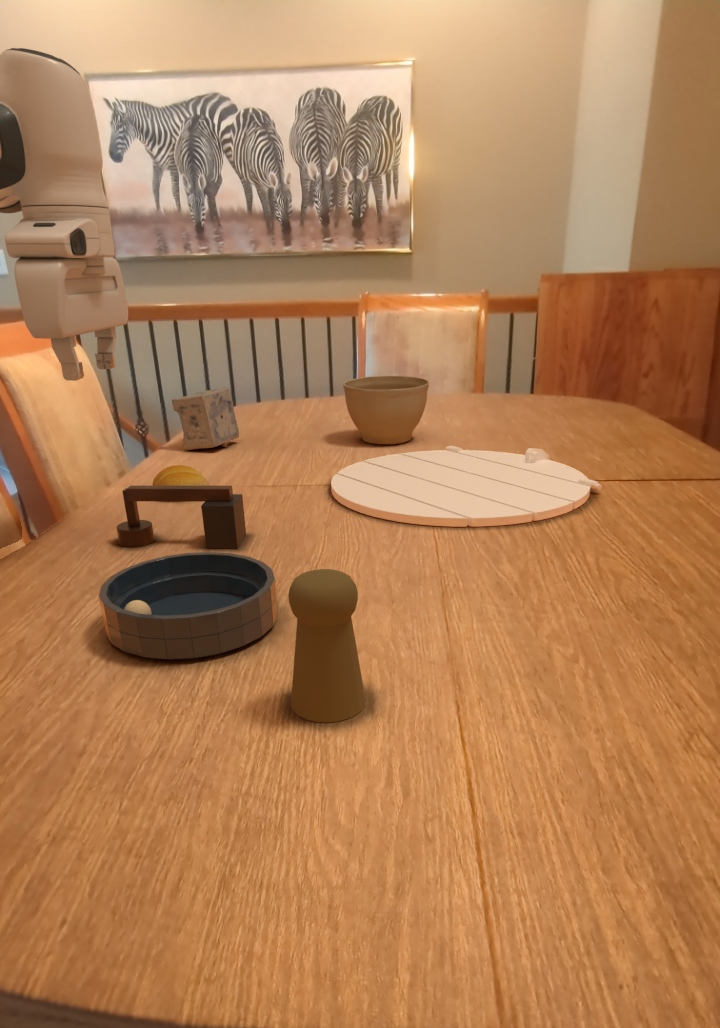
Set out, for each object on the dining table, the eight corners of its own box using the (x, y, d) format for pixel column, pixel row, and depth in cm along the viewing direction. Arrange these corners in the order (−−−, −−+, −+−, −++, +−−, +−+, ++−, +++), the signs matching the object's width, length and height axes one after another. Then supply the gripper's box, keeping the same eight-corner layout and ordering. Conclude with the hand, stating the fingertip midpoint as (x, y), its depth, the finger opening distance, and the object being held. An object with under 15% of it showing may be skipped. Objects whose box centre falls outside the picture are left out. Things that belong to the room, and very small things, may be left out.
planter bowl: (328, 440, 147) (325, 382, 143) (387, 428, 157) (387, 373, 152) (385, 453, 137) (384, 391, 132) (445, 439, 146) (446, 380, 141)
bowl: (79, 662, 68) (69, 617, 66) (141, 590, 82) (135, 551, 80) (259, 666, 66) (254, 620, 64) (289, 591, 81) (286, 552, 79)
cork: (276, 700, 61) (265, 574, 56) (334, 675, 65) (329, 554, 60) (321, 731, 57) (314, 598, 52) (381, 703, 60) (379, 575, 55)
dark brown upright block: (206, 548, 94) (200, 505, 91) (216, 535, 98) (211, 494, 96) (237, 548, 94) (233, 505, 91) (246, 535, 98) (242, 494, 95)
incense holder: (204, 440, 151) (198, 385, 146) (241, 442, 148) (236, 387, 143) (177, 451, 143) (169, 393, 138) (215, 453, 140) (208, 395, 135)
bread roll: (159, 504, 111) (155, 478, 110) (151, 489, 119) (147, 464, 117) (214, 497, 114) (211, 471, 112) (204, 483, 121) (201, 458, 120)
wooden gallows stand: (114, 547, 95) (104, 492, 92) (126, 535, 99) (117, 482, 96) (232, 548, 94) (226, 492, 91) (240, 536, 98) (234, 482, 95)
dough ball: (122, 596, 71) (128, 601, 74) (118, 623, 71) (124, 627, 74) (150, 599, 72) (155, 604, 74) (146, 626, 71) (151, 630, 74)
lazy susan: (466, 445, 141) (467, 426, 140) (648, 488, 113) (652, 466, 111) (283, 483, 120) (282, 461, 119) (449, 547, 92) (450, 520, 90)
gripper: (81, 241, 91) (99, 362, 97) (-6, 236, 73) (23, 386, 79) (132, 241, 90) (147, 363, 97) (58, 236, 72) (82, 387, 78)
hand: (91, 373), depth 88 cm, fingers open, 8 cm apart
